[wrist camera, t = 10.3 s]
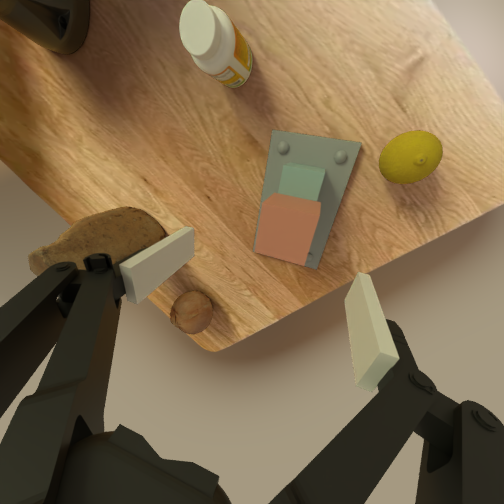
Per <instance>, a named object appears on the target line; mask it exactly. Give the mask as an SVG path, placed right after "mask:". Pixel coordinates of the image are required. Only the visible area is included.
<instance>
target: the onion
mask: <svg viewBox="0 0 504 504" xmlns="http://www.w3.org/2000/svg"><path fill="white" fill-rule="evenodd" d="M210 301H211V300H210V299H209V298H207V296H205V295H204V294H203V293H202V292H200V291H198V290H194V291H192V292H186V293H184V294H182V295H181V296H179V297H178V298H177V299H176V301H175V302H174V304H173V306H172V308H171V313H170V315H171V318H170V320H171V323H172V324H174V325H175V326H176V327H177V328H179V329H180V330H181V331H183V332H185V333H187V334H196V333H199V332H201V331H203V330H204V329H206V328H207V327H208V325H209V324H210V322H211V320H212V315H213V309H212V303H211V302H210Z"/></svg>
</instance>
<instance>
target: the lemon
mask: <svg viewBox="0 0 504 504" xmlns="http://www.w3.org/2000/svg"><path fill="white" fill-rule="evenodd" d="M442 154H443V150H442V145H441V142H440V140H439V139H438V138H437V137H436V136H435V135H433V134H431V133H429V132H426V131H420V130H418V131H409V132H406V133H403V134H401V135H399V136H397V137H395V138H394V139H393V140H391V141H390V142H389V143H388V144H387V145H386V147H385V148H384V149H383V151H382V153H381V155H380V159H379V169H380V172H381V173H382V175H383V176H384V177H385V178H386V179H387V180H389V181H391V182H393V183H397V184H408V183H413V182H416V181H420V180H421V179H423V178H425V177H427V176H428V175H429V174H431V173H432V172H433V171H434V170H435V169H436V167H437V166H438V164H439V162H440V161H441V158H442Z"/></svg>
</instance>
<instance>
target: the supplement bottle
mask: <svg viewBox="0 0 504 504" xmlns="http://www.w3.org/2000/svg"><path fill="white" fill-rule="evenodd" d="M179 30H180V36H181V40H182V43H183V45H184V47H185V48H186V50H187V51H188V52H189V53H190V54H191V56H192V58H193V60H194V62H195V63H196V65H197V66H198V67H199V68H200V69H201V70H202V71H203V72H205V73H207V74H208V75H210V76H211V77H213V78H215V79H216V80H218V81H219V82H221V83H222V84H224V85H226V86H228V87H231V88H236V87H239V86H241V85H243V84H244V83H245V82H246V81H247V79H248V77H249V75H250V73H251V69H252V52H251V49H250V47H249V45H248V43H247V42H246V40H245V39H244V37H243V36H242V35H241V33H240V32H239V31H238V29H237V28H236V27H235V25H234V24H233V22H232V21H231V20H230V18H229V17H228V16H227V14H225V12H224V11H223V10H221V9H220V8H218V7H216V6H209V5H208V4H207V3H206V2H205V1H203V0H191V1H189V2H188V3H187V4H186V6H185V7H184V9H183V11H182V13H181V17H180V24H179Z"/></svg>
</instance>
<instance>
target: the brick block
mask: <svg viewBox="0 0 504 504" xmlns="http://www.w3.org/2000/svg"><path fill="white" fill-rule="evenodd" d="M320 208H321V202H317V201H313V200H308V199H303V198H298V197H293V196H289V195H284V194H279V193H273V194H272V195H271V196H270V197H268V198H267V199H266V200H265V201H264V202H263V203H262V207H261V214H260V220H259V226H258V232H257V238H256V245H255V251H254V252H256V253H260V254H263V255H267V256H270V257H274V258H278V259H281V260H285V261H288V262H292V263H296V264H299V265H303V266H304V265H305V262H306V259H307V255H308V252H309V249H310V246H311V242H312V239H313V236H314V233H315V230H316V226H317V223H318V220H319V217H320Z"/></svg>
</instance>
